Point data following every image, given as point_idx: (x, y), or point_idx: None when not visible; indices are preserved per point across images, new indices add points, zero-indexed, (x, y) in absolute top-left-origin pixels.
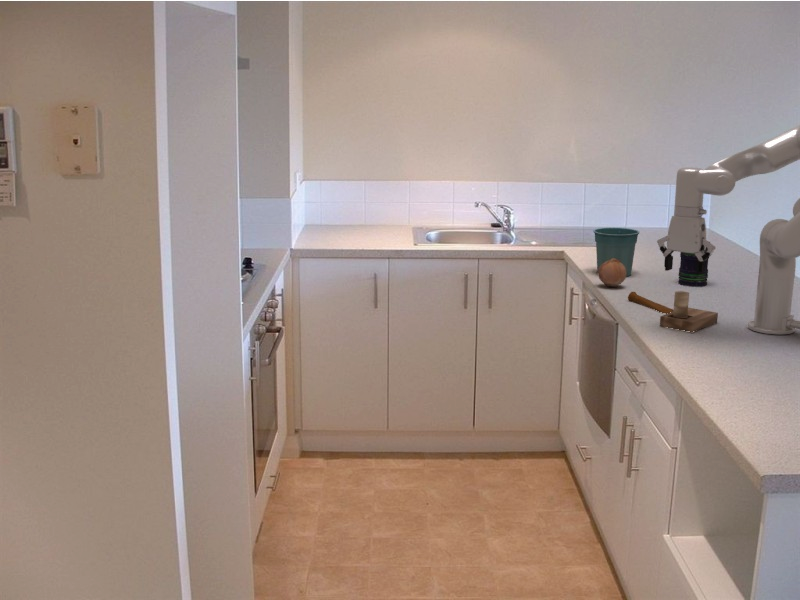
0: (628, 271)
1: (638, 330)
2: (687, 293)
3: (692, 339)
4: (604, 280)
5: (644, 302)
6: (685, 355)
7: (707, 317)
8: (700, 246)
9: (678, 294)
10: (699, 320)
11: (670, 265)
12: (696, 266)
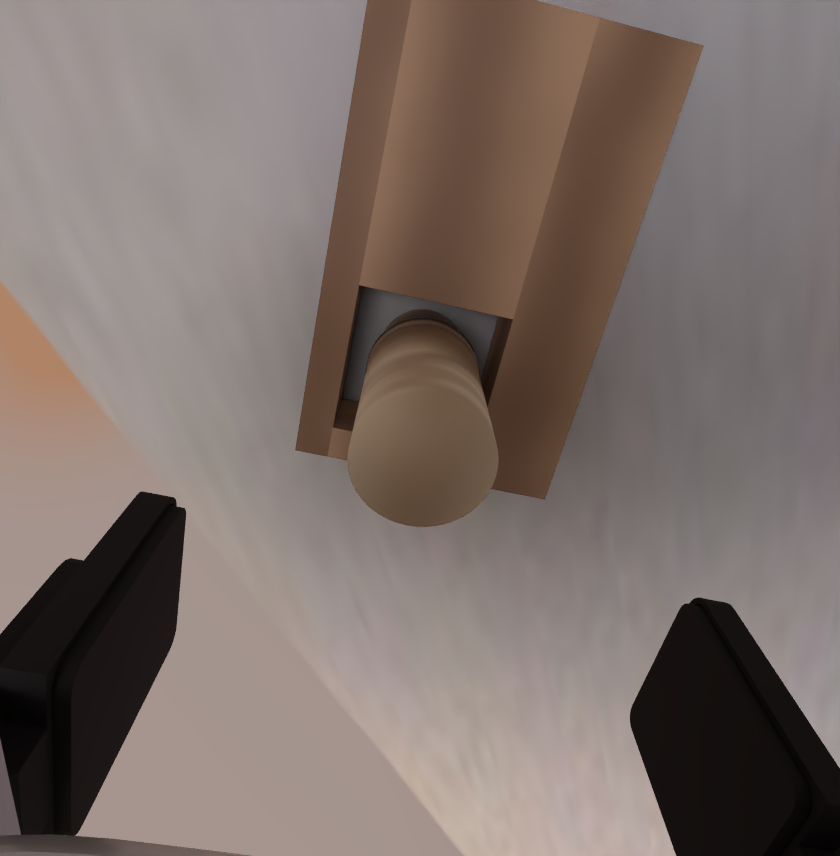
0: None
1: (237, 566)
2: (482, 469)
3: (558, 592)
4: None
5: None
6: (571, 822)
7: (622, 272)
8: None
9: (405, 521)
10: (575, 405)
11: (153, 607)
12: (673, 838)
